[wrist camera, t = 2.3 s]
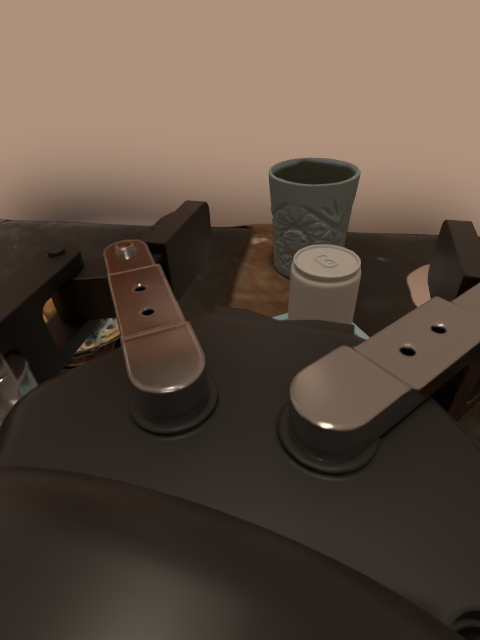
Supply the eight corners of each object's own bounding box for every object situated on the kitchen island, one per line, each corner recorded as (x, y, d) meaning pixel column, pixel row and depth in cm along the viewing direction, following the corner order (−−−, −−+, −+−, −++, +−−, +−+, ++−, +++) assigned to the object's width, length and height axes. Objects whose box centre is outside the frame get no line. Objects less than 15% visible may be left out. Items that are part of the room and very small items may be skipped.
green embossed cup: (283, 291, 45) (288, 189, 38) (257, 252, 53) (256, 161, 46) (361, 276, 47) (379, 177, 40) (324, 240, 55) (334, 152, 48)
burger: (132, 363, 37) (114, 299, 32) (6, 373, 36) (-32, 309, 32) (147, 293, 46) (134, 235, 41) (46, 300, 46) (22, 242, 41)
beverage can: (304, 409, 31) (318, 285, 24) (274, 371, 35) (278, 253, 27) (351, 388, 33) (378, 266, 26) (318, 354, 36) (333, 237, 29)
